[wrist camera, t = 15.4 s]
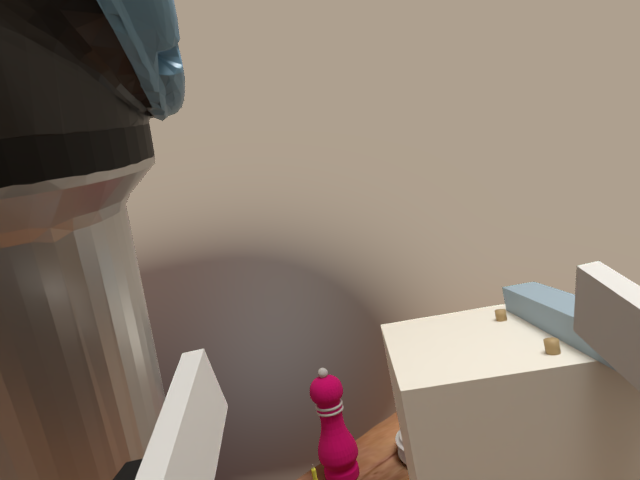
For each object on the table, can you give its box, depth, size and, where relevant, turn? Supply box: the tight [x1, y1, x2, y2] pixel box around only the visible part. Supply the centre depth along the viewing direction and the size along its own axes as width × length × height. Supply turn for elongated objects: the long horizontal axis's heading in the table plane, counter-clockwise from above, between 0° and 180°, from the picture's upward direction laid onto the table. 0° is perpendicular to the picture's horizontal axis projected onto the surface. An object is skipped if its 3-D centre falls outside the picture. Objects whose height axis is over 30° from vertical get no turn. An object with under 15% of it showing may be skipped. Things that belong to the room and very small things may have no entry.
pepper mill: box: [310, 368, 359, 480], centre depth 72 cm, size 7×7×20 cm
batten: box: [502, 282, 616, 371], centre depth 37 cm, size 28×4×3 cm, turn 175°
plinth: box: [381, 304, 640, 480], centre depth 44 cm, size 22×24×31 cm
